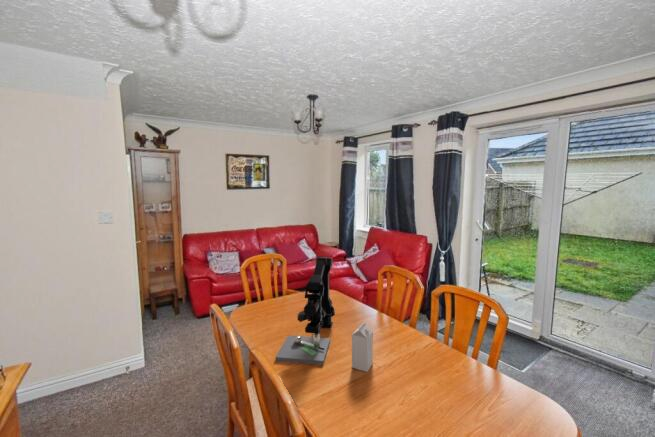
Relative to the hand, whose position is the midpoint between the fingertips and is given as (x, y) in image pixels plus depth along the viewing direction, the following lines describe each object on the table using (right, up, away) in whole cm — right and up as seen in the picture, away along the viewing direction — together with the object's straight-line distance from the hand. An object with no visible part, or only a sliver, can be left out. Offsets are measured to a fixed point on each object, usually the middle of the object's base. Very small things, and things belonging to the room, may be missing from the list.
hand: (316, 337), depth 144 cm
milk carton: (+21, -8, -13) cm, 26 cm away
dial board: (-6, -6, -1) cm, 9 cm away
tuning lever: (-3, -4, -1) cm, 5 cm away
